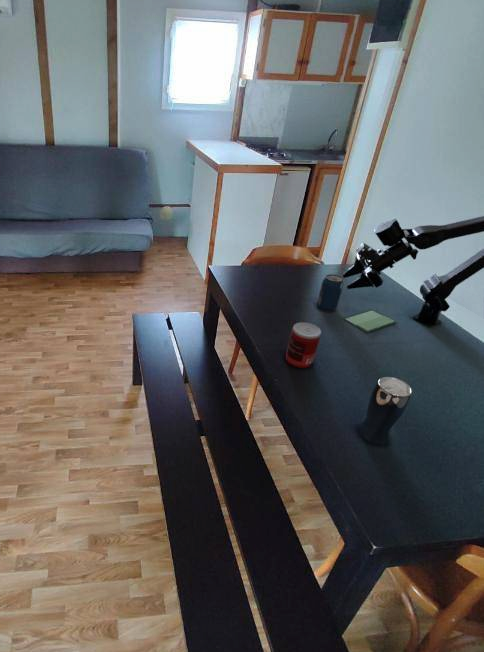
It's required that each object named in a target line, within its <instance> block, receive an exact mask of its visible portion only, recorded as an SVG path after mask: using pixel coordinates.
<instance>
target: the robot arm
mask: <svg viewBox="0 0 484 652" xmlns="http://www.w3.org/2000/svg"><path fill="white" fill-rule="evenodd" d="M483 232H484V215H481V216H478V217H473V218H469V219H464V220H460V221H456V222H452V223H446V224H442V225H435V224H429V225H427V224H426V225H418V226H416V227H414V228H402V227H401V225H400V223H399V221H398V220H397V218H394V219H392V220H388V221H385V222H382V223H380V224H379V225H378V226H377V227H375V229H374V234H375V236H376V237H377V238H378V240H379V242H381V244H382V245H383V246H385V248H384V249H382V248H378V249H375V248H373V247H371V245H368V244H366V243H365V242H362V243H360V245H359V246H358V247H357V248H356V249H355V251H356V252H357V253H356V256H354V263H353V264H352V265H351V266H350V267H349V268H348V269H347V270H346V271H345V272H344V273H343V274H342V278H343V279H347V278H350V277H353V276H357V275H359V274H360V276H359V277H357V278H356V279H354V280H353V281H352V282H350V283H348V284H347V285H346V288H347V290H352V289H353V290H354V289H359V288H360V289H361V288H375V289H377V288H379V287H380V286H382V285H383V283H384V280H383V278H382V276H381V275H382V273H381V272H383V271H385V270H386V269H388V268H390V269H392V268H394V265H395V264H397V263H398V262H401V261H402V260H404V259H406V258H407V257H408V256H410V257H411V258H412V260H414V261H415V260H416V259H417V256H418V253H419V250H428V249H430V248H433V247H435V246H438V245H440V244H441V243H443V242H445V241H448V240H452V239H456V238H461V237H467V236H471V235H475V234H479V233H483ZM403 239H404V240H405V241H404V240H403ZM412 245H413V246H414V247H415V248H413V246H412ZM483 269H484V248H482V249H481V250H479V251H478V252H477V253H475V254H474V255H472V256H470V257H469V258H468V259H466V260H465V261H463V262H462V263H461V264H459V265H458V266H456V267H454V268H452V270H450V271H449V272H447V273H445V274H444V275H440V276H438V275H437V274H436V273H435V274H433V275H432V276H430V277H429V278H427V279H426V280H423V283H422V284H421V285H420V287H419V294H420V295H421V296H422V300H423V301H424V302H423V303H422V306H421V309H420V310H419V313H418V314H416V315H414V316H412V319H413V320H415V321H418V322H420V323H421V324H423V325H426V326H428V327H433V326H436V325H438V324H441V323H442V320H440V319H439V318H440V315H441V313H442V312H447V311H448V310H449V309H450V307H451V306H450V305H449V303H448V302H447V300H446V299H447V298H448V297H450V295H452V293H453V291H454V290H455V288H456V287H457V286H459V285H460V284H462V283H463V282H465V281H466V280H468V279H469V278H470V277H472V276H474V275H475V274H477V273H478V272H480V271H481V270H483Z"/></svg>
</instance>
